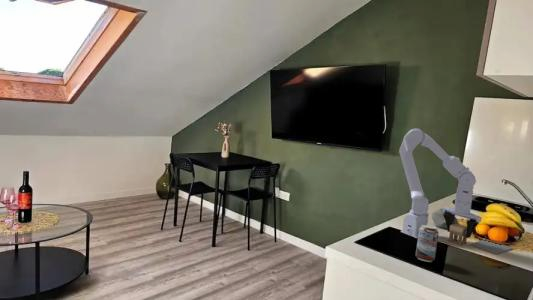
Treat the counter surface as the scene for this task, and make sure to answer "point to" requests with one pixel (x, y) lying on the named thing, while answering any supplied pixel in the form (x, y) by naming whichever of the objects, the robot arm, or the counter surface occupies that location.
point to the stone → (441, 219)
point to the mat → (491, 247)
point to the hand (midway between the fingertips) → (458, 234)
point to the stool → (458, 233)
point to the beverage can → (427, 243)
